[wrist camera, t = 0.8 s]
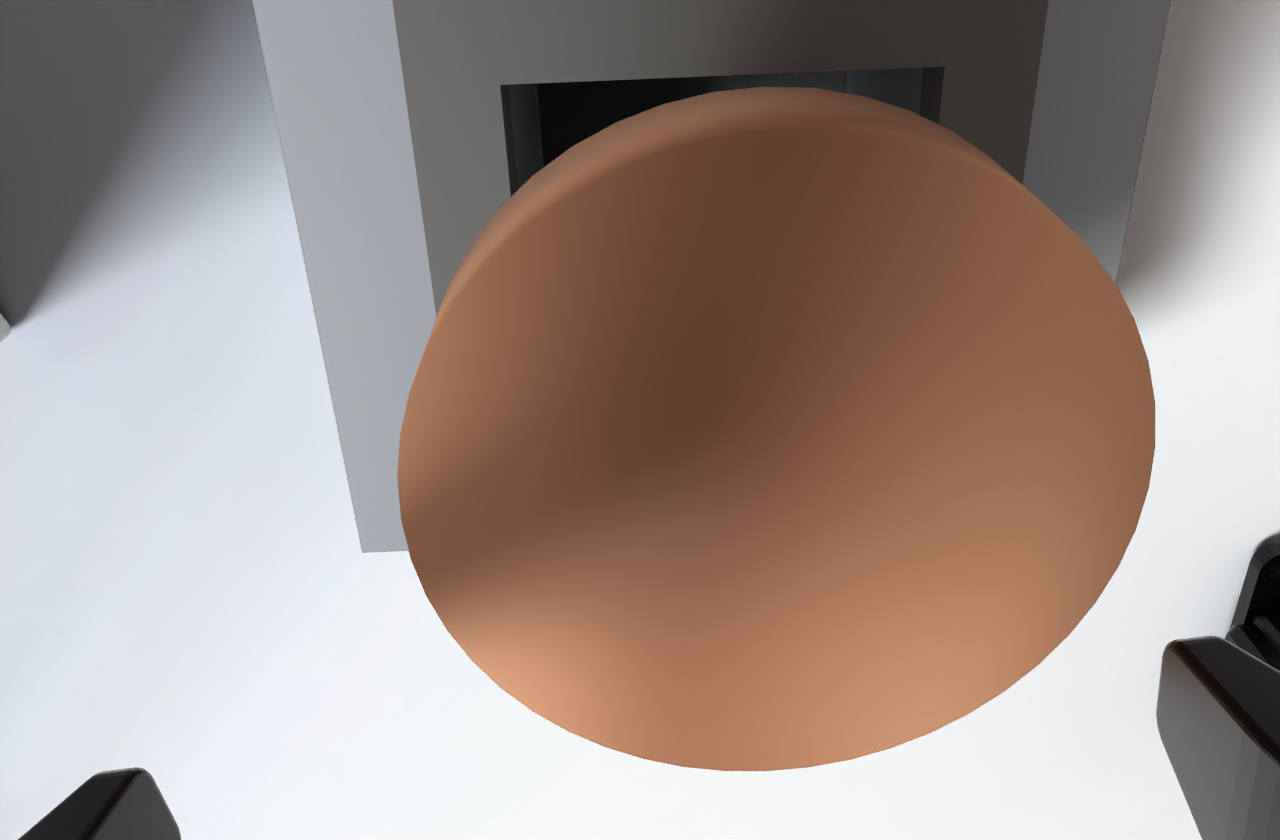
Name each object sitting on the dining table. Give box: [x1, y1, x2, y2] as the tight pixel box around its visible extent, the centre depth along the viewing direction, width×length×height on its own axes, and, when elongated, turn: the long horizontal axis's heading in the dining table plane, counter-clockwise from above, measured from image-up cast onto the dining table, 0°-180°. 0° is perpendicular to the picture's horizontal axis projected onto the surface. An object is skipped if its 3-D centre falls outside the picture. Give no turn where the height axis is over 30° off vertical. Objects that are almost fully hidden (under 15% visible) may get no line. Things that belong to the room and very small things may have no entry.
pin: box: [397, 87, 1155, 771], centre depth 13 cm, size 7×7×6 cm
